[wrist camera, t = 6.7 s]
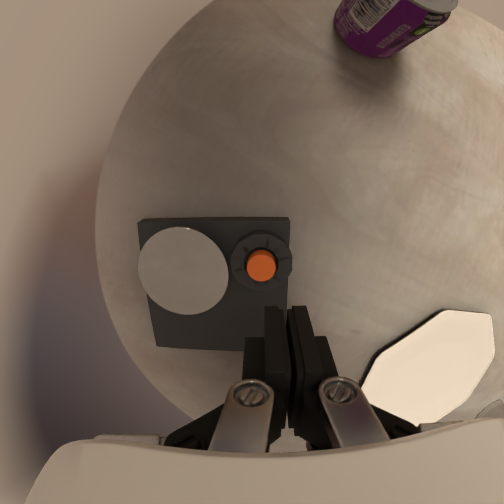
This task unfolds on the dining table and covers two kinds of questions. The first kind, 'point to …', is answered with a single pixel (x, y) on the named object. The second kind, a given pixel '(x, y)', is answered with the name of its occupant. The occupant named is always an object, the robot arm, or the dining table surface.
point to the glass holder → (493, 410)
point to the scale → (239, 284)
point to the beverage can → (388, 23)
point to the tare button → (261, 265)
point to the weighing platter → (183, 270)
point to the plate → (432, 367)
